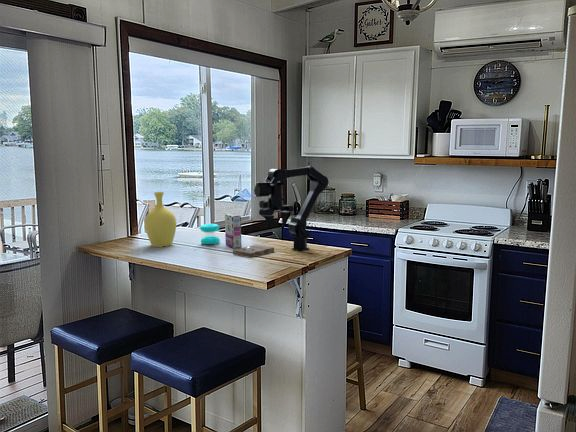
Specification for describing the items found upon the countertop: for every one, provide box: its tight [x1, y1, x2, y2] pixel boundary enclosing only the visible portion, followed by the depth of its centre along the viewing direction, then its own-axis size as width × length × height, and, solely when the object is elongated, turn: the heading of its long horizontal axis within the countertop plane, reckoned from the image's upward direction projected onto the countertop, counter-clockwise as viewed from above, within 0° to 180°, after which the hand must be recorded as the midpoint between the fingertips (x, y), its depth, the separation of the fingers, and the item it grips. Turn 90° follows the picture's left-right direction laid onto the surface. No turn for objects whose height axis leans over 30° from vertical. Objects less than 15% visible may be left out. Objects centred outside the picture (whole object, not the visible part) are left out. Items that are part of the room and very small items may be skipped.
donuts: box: [199, 223, 221, 245], centre depth 265 cm, size 10×10×10 cm
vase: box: [144, 191, 177, 248], centre depth 262 cm, size 16×16×28 cm
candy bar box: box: [224, 213, 243, 249], centre depth 255 cm, size 11×5×16 cm, turn 27°
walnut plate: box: [232, 244, 275, 259], centre depth 240 cm, size 16×12×2 cm
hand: (277, 228), depth 237 cm, fingers open, 9 cm apart
